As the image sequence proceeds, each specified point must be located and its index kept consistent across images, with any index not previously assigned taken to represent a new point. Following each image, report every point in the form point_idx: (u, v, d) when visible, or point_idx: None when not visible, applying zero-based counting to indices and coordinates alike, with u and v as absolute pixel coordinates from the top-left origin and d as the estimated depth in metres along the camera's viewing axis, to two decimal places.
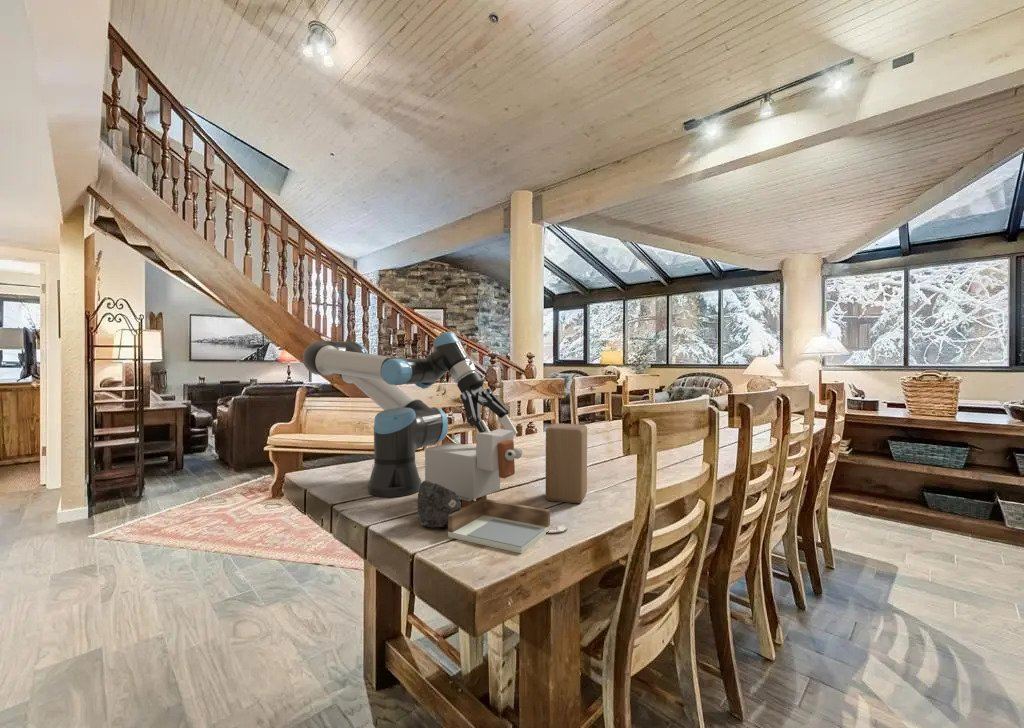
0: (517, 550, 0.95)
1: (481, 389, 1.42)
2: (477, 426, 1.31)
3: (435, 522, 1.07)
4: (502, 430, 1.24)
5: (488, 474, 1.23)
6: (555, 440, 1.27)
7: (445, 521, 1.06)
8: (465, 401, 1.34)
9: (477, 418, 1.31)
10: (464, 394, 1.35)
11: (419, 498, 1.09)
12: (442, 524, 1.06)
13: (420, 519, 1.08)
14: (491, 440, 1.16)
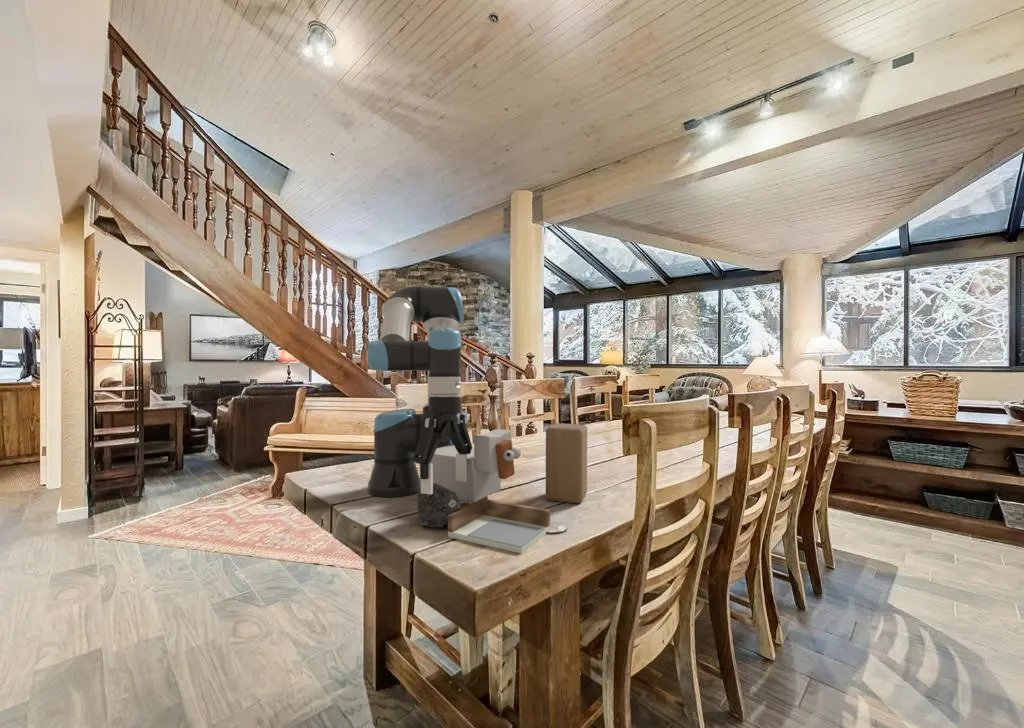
0: (517, 550, 0.95)
1: (453, 416, 1.12)
2: (421, 469, 1.03)
3: (435, 522, 1.07)
4: (500, 430, 1.22)
5: (488, 476, 1.22)
6: (555, 440, 1.27)
7: (445, 521, 1.06)
8: (424, 431, 1.04)
9: (426, 460, 1.03)
10: (428, 422, 1.04)
11: (419, 498, 1.09)
12: (442, 524, 1.06)
13: (420, 519, 1.08)
14: (489, 442, 1.15)
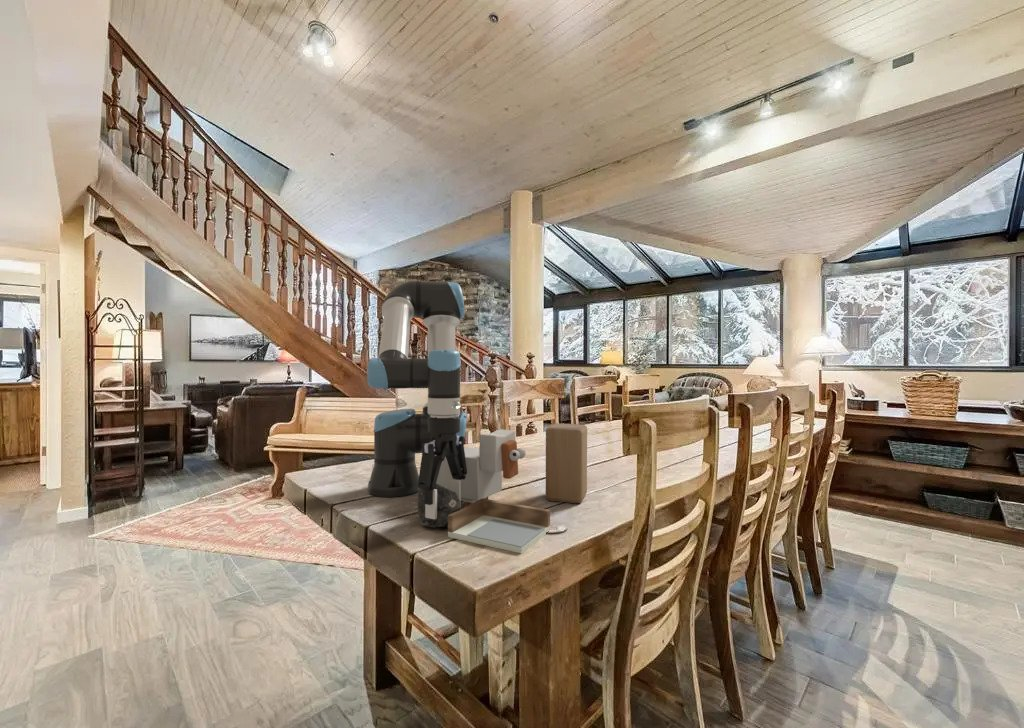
0: (517, 550, 0.95)
1: (453, 435, 1.12)
2: (426, 494, 1.05)
3: (435, 522, 1.07)
4: (504, 430, 1.23)
5: (491, 475, 1.23)
6: (555, 440, 1.27)
7: (445, 521, 1.06)
8: (425, 457, 1.05)
9: (430, 487, 1.05)
10: (427, 448, 1.05)
11: (419, 498, 1.09)
12: (443, 524, 1.06)
13: (421, 519, 1.08)
14: (496, 441, 1.16)
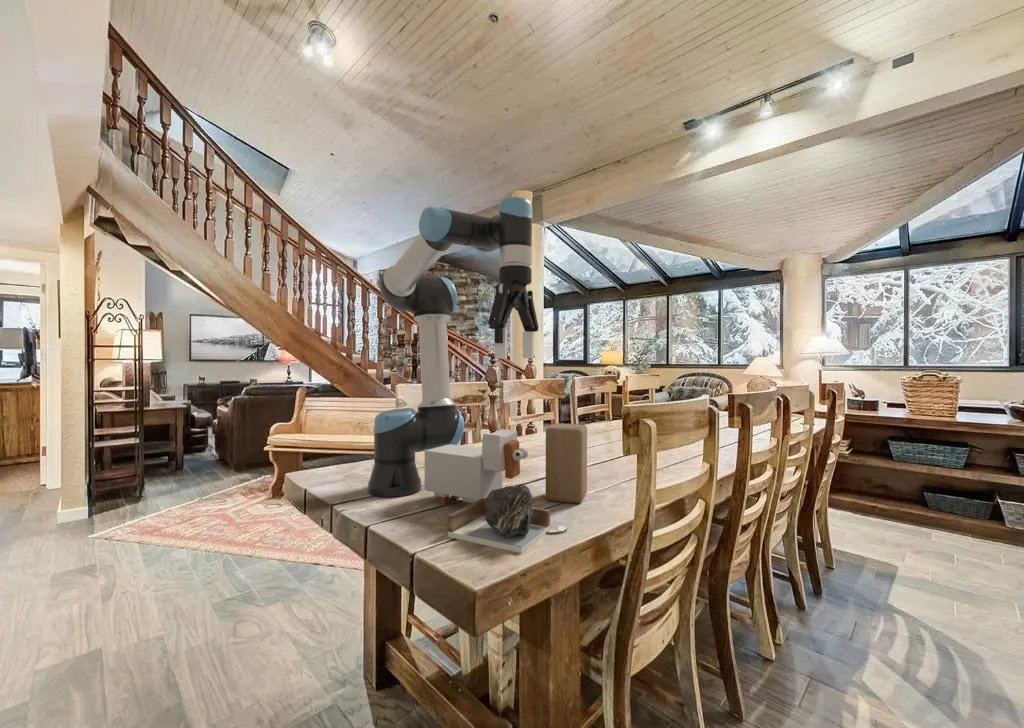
0: (517, 550, 0.95)
1: None
2: None
3: None
4: (506, 430, 1.23)
5: (492, 475, 1.22)
6: (555, 440, 1.27)
7: None
8: None
9: None
10: None
11: None
12: None
13: None
14: (499, 441, 1.16)
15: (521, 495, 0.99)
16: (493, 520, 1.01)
